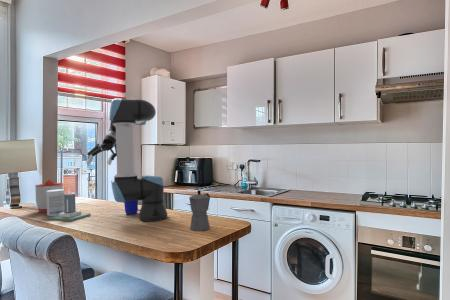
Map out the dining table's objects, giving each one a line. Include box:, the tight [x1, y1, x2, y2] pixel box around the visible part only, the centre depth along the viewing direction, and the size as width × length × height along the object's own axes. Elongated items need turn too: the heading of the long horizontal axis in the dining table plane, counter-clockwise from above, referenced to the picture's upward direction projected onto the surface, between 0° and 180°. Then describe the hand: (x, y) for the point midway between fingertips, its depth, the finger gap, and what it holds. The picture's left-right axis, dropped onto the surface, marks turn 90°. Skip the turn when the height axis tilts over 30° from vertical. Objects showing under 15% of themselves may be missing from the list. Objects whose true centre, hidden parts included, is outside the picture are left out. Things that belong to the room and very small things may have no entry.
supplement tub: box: [46, 188, 66, 217], centre depth 180 cm, size 10×10×15 cm
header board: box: [48, 210, 92, 222], centre depth 171 cm, size 16×14×3 cm
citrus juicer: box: [34, 179, 64, 214], centre depth 193 cm, size 16×17×20 cm
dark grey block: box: [64, 193, 77, 213], centre depth 171 cm, size 4×4×12 cm
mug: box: [123, 200, 141, 215], centre depth 178 cm, size 8×12×10 cm
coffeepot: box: [188, 189, 211, 233], centre depth 142 cm, size 15×9×18 cm, turn 151°
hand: (98, 163), depth 181 cm, fingers open, 13 cm apart
